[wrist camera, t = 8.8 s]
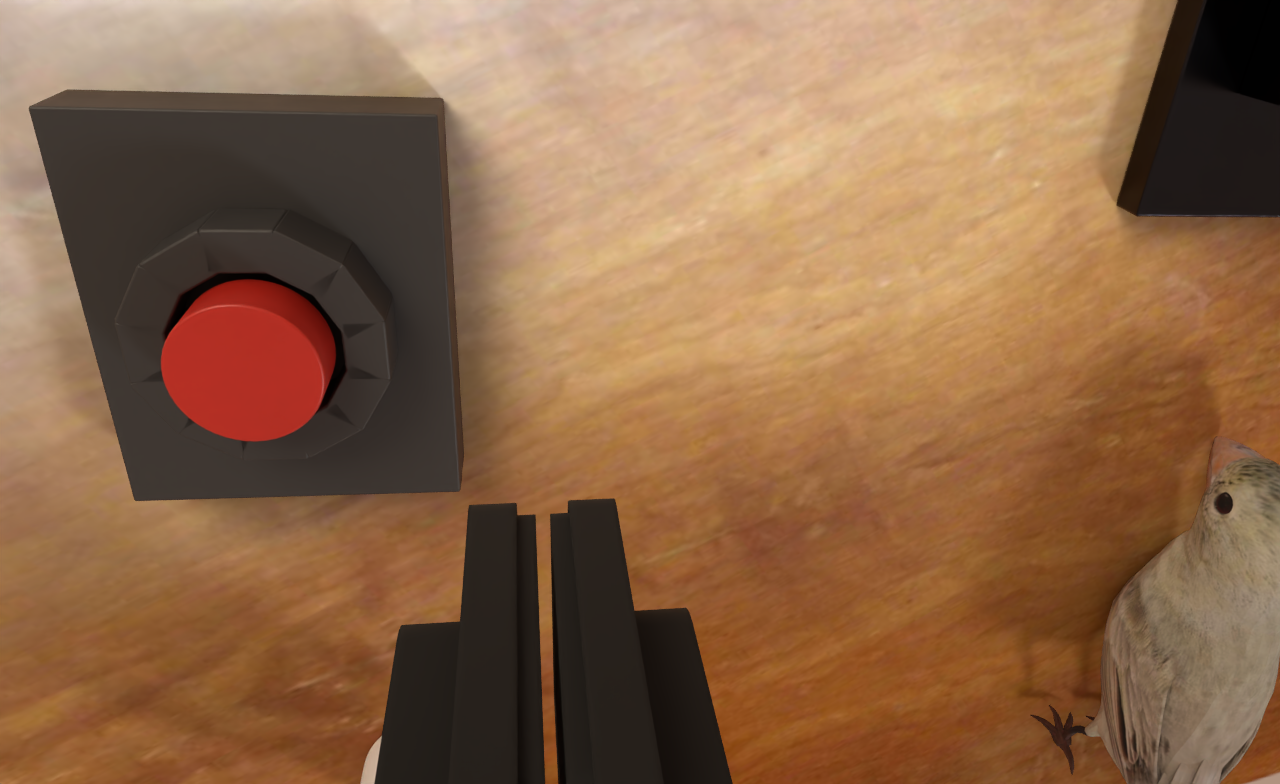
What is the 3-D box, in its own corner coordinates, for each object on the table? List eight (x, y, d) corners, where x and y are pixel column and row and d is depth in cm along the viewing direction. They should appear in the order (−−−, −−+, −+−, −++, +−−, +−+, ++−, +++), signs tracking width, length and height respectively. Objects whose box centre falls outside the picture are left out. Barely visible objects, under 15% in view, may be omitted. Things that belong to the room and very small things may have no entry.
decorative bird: (1282, 432, 35) (1455, 555, 29) (1118, 724, 43) (1226, 875, 36) (1160, 422, 34) (1309, 547, 28) (1014, 722, 42) (1105, 877, 35)
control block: (65, 88, 25) (-10, 122, 21) (443, 97, 26) (431, 130, 22) (158, 463, 30) (111, 537, 27) (464, 455, 32) (457, 525, 28)
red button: (168, 278, 24) (144, 304, 22) (327, 277, 24) (314, 304, 23) (197, 411, 26) (176, 444, 24) (344, 408, 26) (333, 440, 25)
